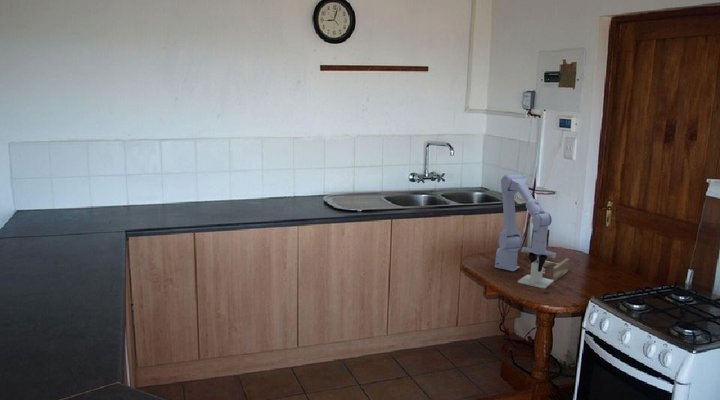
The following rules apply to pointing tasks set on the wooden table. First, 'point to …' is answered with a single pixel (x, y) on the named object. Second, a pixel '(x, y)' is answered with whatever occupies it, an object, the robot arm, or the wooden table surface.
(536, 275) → the gray rectangular slab
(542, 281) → the mat
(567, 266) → the corner fence
